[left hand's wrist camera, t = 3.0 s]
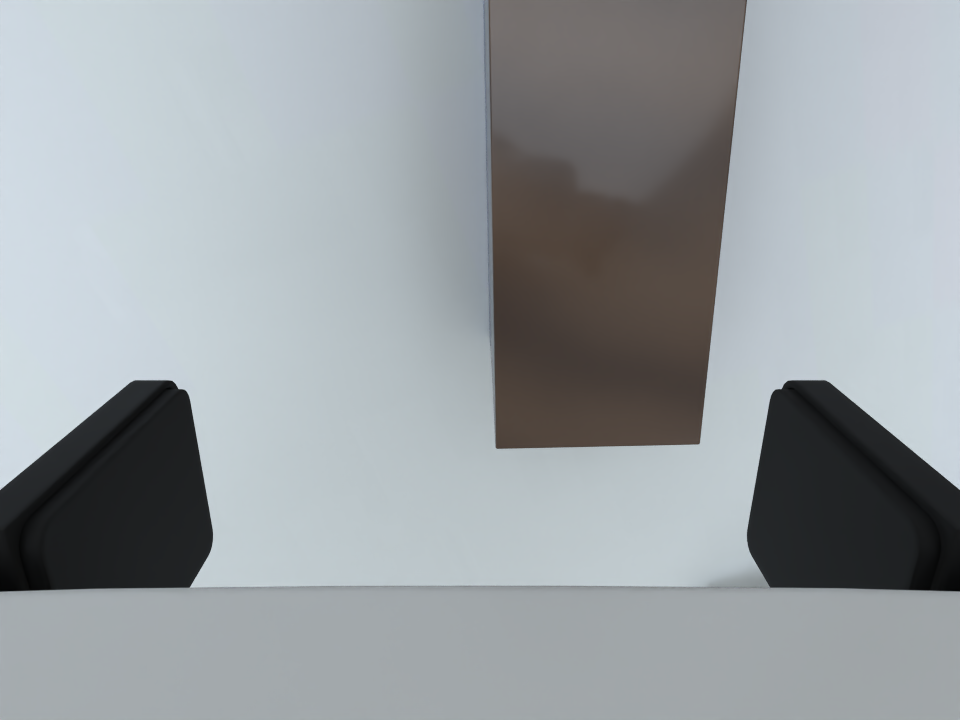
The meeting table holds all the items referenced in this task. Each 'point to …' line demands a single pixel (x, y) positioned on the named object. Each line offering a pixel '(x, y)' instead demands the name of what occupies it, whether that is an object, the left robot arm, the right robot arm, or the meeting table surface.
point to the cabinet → (605, 214)
